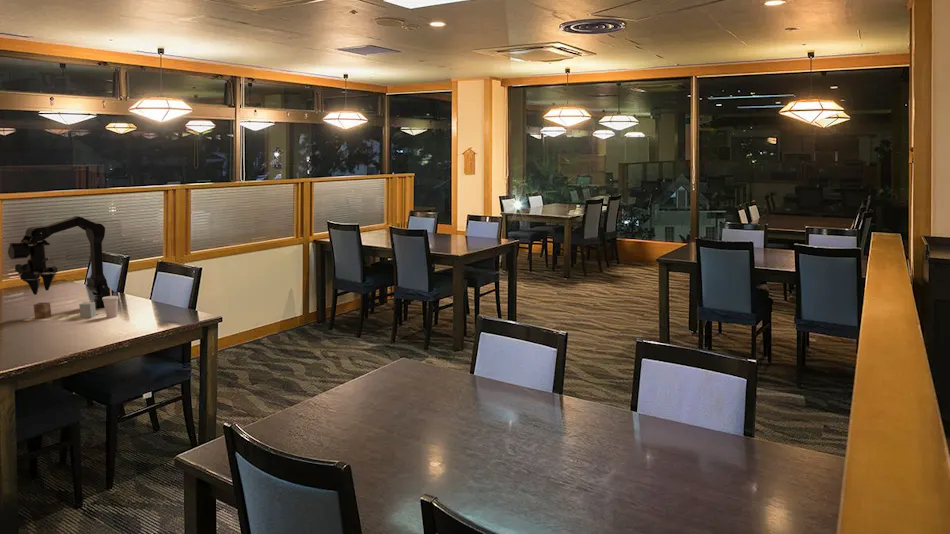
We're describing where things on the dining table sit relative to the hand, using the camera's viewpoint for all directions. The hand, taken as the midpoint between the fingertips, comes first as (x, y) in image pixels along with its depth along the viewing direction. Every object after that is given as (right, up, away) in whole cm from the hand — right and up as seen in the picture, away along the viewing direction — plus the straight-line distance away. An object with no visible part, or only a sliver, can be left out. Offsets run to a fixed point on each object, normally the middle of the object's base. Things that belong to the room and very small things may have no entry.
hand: (41, 292), depth 309 cm
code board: (+8, -12, +2) cm, 14 cm away
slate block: (+19, -11, +3) cm, 22 cm away
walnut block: (0, -11, +2) cm, 11 cm away
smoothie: (+29, -12, +3) cm, 32 cm away
